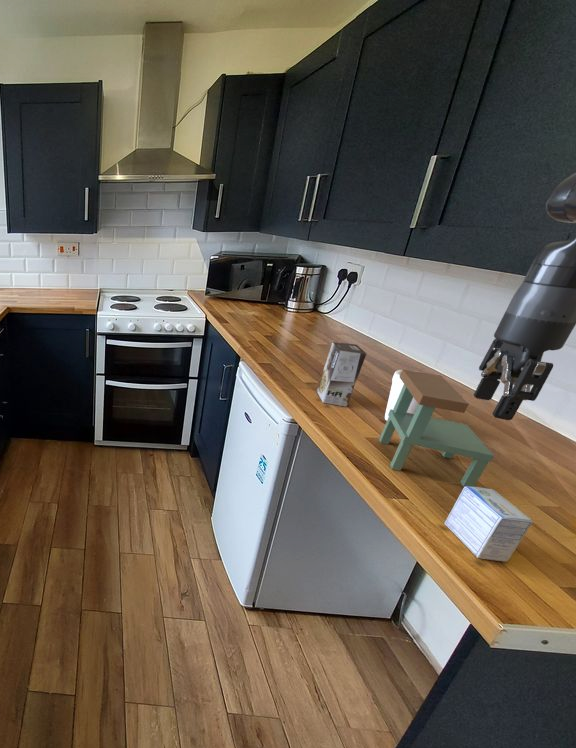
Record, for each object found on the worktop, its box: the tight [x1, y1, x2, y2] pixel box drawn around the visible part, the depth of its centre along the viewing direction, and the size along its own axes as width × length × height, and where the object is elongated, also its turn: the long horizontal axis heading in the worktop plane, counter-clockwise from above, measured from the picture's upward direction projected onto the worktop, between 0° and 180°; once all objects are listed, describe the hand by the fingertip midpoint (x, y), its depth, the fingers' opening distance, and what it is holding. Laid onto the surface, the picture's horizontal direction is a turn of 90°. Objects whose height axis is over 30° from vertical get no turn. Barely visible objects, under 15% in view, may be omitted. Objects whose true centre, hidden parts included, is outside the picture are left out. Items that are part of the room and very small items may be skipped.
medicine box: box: [444, 486, 534, 563], centre depth 66 cm, size 8×4×9 cm, turn 170°
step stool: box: [378, 369, 495, 488], centre depth 86 cm, size 14×16×18 cm
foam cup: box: [384, 369, 419, 422], centre depth 104 cm, size 10×9×13 cm
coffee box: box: [316, 341, 367, 408], centre depth 115 cm, size 9×6×16 cm
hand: (490, 407), depth 68 cm, fingers open, 8 cm apart
